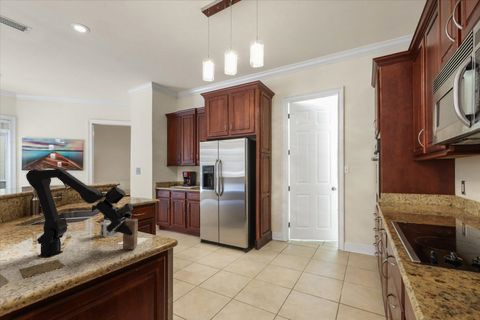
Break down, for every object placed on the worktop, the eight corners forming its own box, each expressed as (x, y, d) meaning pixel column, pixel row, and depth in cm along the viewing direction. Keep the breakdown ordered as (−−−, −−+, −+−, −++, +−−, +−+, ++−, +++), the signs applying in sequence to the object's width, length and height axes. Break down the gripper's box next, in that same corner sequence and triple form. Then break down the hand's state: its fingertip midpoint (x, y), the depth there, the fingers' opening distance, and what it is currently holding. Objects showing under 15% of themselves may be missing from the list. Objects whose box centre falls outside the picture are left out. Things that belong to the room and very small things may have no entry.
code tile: (136, 245, 111) (136, 245, 111) (116, 244, 113) (116, 243, 113) (148, 238, 122) (148, 238, 122) (131, 237, 124) (131, 237, 124)
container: (105, 238, 123) (106, 214, 124) (99, 235, 128) (100, 212, 129) (120, 234, 130) (120, 212, 130) (114, 232, 134) (114, 210, 135)
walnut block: (122, 249, 103) (123, 221, 104) (126, 245, 108) (127, 218, 109) (134, 248, 104) (134, 221, 104) (137, 245, 109) (137, 218, 109)
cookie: (57, 260, 95) (58, 257, 95) (65, 268, 87) (65, 265, 87) (18, 270, 86) (18, 267, 86) (23, 280, 78) (23, 277, 78)
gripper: (114, 201, 97) (141, 225, 98) (128, 196, 115) (150, 216, 117) (94, 220, 95) (121, 244, 97) (112, 211, 114) (134, 232, 115)
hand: (133, 233), depth 106 cm, fingers closed on walnut block, 5 cm apart
